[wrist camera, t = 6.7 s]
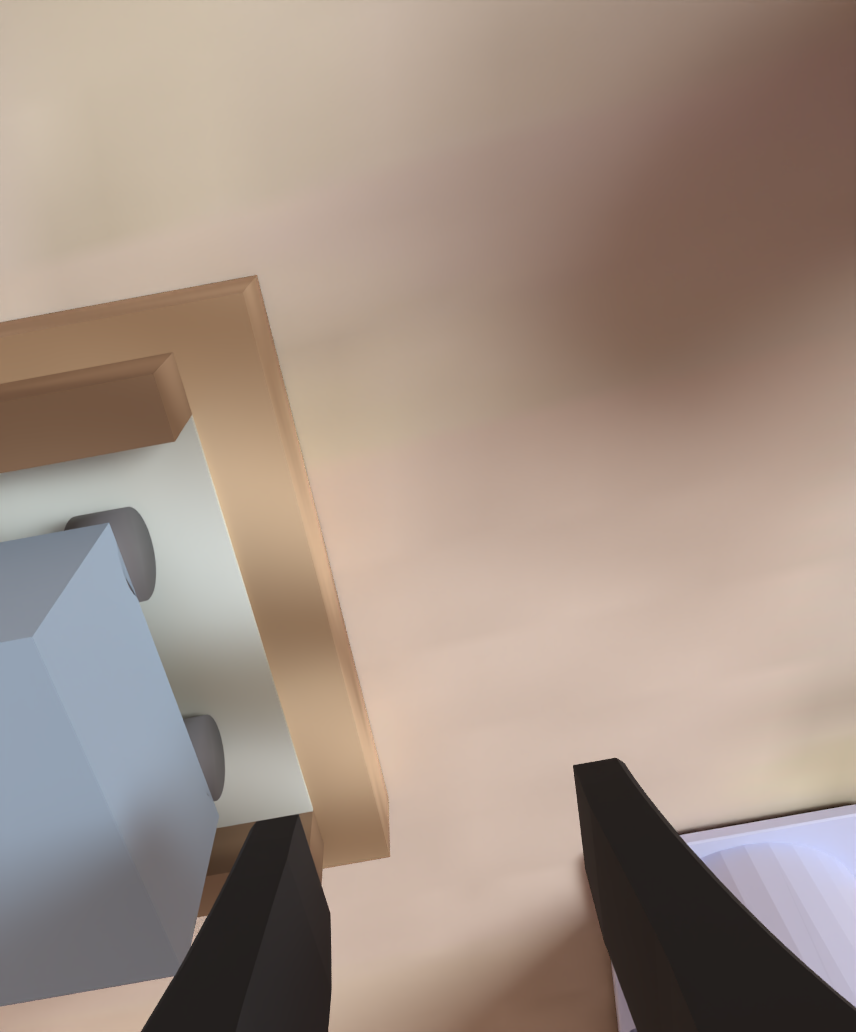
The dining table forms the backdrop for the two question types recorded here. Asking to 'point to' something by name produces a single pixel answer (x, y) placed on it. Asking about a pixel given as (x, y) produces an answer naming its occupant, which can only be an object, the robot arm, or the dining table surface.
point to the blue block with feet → (95, 769)
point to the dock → (205, 542)
